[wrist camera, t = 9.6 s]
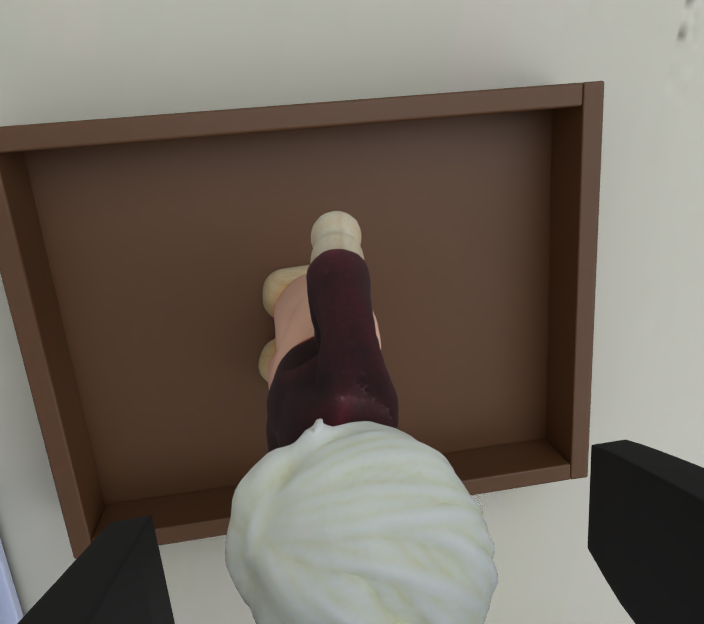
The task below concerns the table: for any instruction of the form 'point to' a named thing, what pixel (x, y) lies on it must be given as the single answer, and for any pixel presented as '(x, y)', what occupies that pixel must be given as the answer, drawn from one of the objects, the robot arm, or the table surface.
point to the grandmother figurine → (348, 470)
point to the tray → (292, 251)
